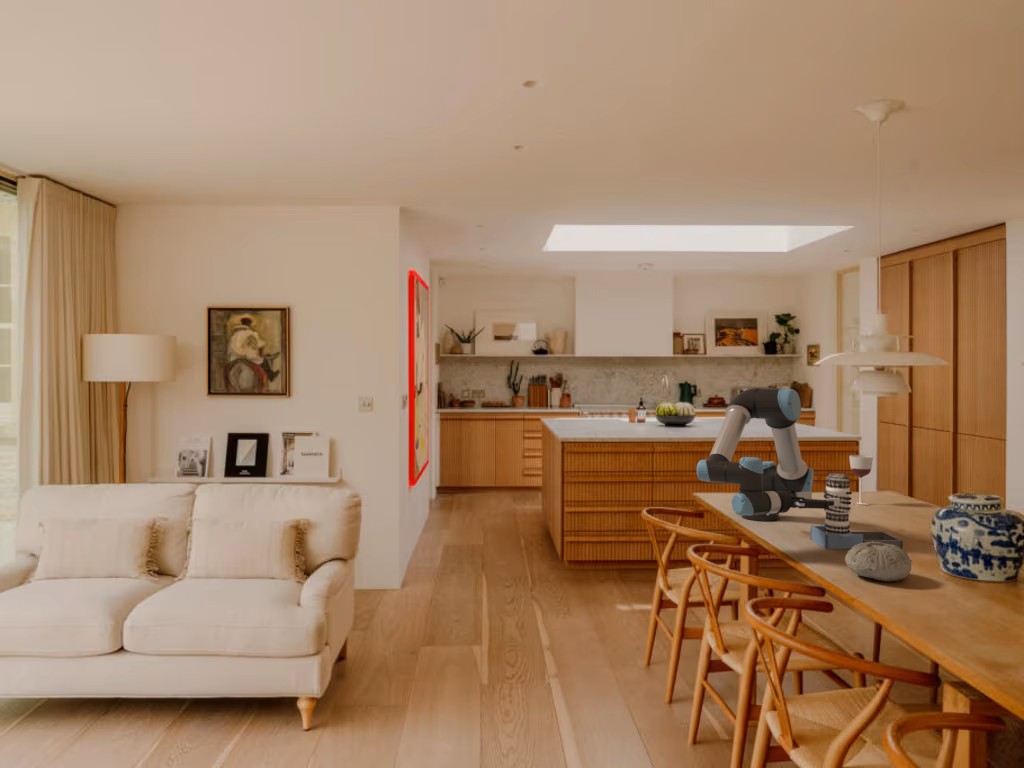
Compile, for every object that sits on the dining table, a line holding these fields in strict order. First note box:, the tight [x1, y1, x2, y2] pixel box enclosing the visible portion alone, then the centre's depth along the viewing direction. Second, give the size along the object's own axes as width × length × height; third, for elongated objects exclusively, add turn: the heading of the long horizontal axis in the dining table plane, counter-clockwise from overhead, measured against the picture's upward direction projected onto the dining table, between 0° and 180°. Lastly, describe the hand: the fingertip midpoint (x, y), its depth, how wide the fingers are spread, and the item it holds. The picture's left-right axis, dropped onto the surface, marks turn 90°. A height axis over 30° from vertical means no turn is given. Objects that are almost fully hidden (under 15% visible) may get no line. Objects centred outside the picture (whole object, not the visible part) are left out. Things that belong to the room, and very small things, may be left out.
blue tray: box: [809, 524, 863, 550], centre depth 257 cm, size 13×18×5 cm
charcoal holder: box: [848, 530, 904, 550], centre depth 257 cm, size 14×14×3 cm
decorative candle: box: [823, 472, 853, 534], centre depth 257 cm, size 9×9×25 cm
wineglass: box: [849, 454, 874, 504], centre depth 330 cm, size 9×10×22 cm
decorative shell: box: [844, 541, 913, 582], centre depth 218 cm, size 18×18×10 cm
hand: (824, 498), depth 255 cm, fingers open, 13 cm apart
